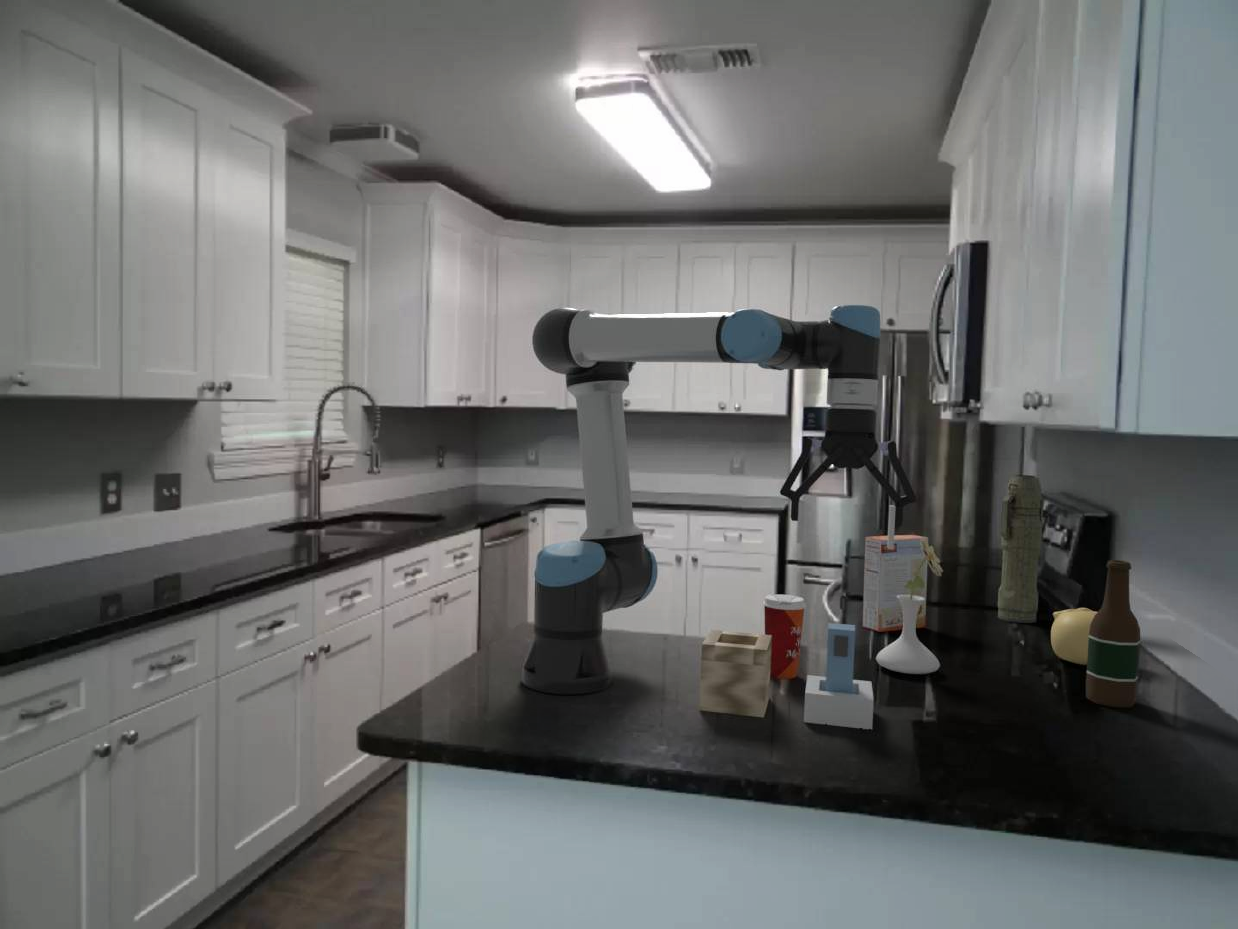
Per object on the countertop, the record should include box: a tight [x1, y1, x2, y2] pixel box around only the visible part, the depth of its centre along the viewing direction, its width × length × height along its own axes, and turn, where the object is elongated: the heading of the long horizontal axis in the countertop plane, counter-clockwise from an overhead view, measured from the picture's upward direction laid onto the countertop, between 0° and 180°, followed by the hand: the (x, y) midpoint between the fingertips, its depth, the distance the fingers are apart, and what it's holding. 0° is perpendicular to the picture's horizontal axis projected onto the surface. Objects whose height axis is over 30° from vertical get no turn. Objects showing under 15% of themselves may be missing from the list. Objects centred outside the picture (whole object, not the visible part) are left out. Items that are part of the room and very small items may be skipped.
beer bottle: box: [1085, 559, 1141, 709], centre depth 149 cm, size 8×8×24 cm
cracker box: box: [862, 534, 929, 633], centre depth 200 cm, size 14×6×21 cm, turn 116°
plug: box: [825, 622, 856, 694], centre depth 137 cm, size 4×5×12 cm
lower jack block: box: [803, 674, 875, 731], centre depth 138 cm, size 10×10×4 cm
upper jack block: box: [699, 629, 772, 719], centre depth 141 cm, size 10×10×10 cm
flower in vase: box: [875, 536, 944, 675], centre depth 165 cm, size 13×11×25 cm
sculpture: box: [1050, 607, 1098, 666], centre depth 175 cm, size 12×12×11 cm
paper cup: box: [762, 593, 807, 680], centre depth 159 cm, size 8×8×14 cm
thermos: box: [997, 474, 1045, 624], centre depth 214 cm, size 9×12×35 cm
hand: (844, 545), depth 136 cm, fingers open, 13 cm apart
